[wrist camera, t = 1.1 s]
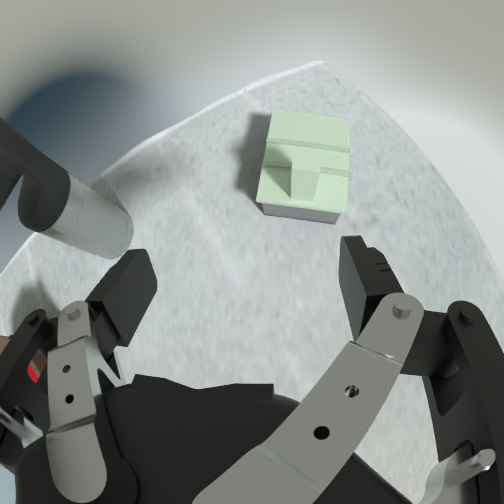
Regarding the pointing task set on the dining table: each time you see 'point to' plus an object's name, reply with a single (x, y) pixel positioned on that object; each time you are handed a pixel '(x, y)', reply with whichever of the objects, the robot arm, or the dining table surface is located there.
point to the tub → (300, 213)
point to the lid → (306, 162)
